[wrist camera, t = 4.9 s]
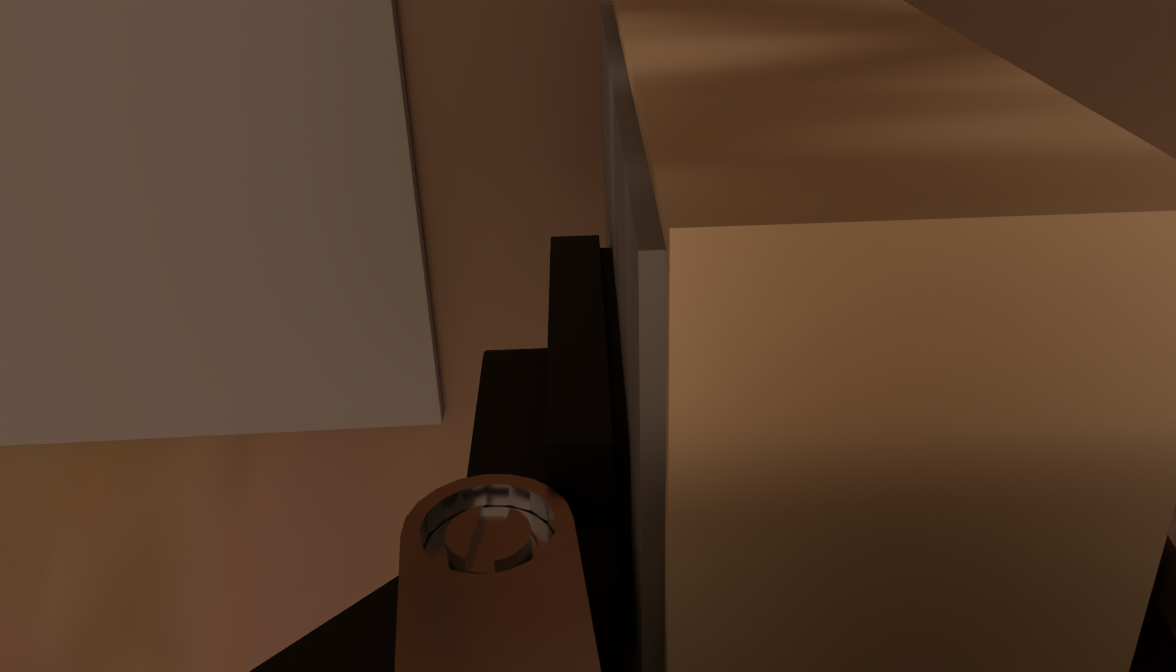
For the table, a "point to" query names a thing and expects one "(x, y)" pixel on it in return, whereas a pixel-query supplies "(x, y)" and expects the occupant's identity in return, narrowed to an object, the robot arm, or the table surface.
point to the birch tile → (882, 346)
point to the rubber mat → (208, 221)
